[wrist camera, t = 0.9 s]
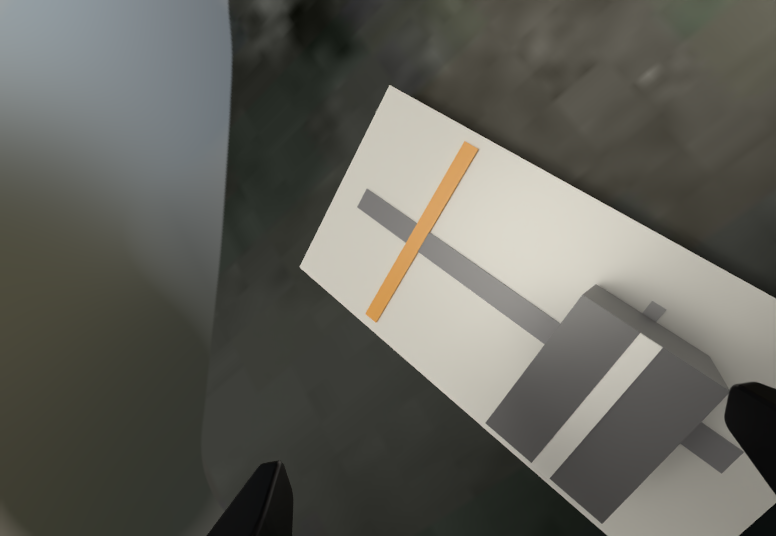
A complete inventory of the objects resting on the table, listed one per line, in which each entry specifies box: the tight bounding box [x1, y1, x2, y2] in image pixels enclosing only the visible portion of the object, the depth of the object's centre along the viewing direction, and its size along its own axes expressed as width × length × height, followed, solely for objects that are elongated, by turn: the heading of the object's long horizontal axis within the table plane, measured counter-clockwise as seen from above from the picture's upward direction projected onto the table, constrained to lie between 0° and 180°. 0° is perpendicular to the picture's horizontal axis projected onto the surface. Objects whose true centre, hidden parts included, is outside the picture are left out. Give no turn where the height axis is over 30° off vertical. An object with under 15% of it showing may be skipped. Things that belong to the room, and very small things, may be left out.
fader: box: [486, 284, 729, 524], centre depth 14 cm, size 4×5×4 cm
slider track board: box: [300, 86, 776, 536], centre depth 18 cm, size 20×10×2 cm, turn 57°
